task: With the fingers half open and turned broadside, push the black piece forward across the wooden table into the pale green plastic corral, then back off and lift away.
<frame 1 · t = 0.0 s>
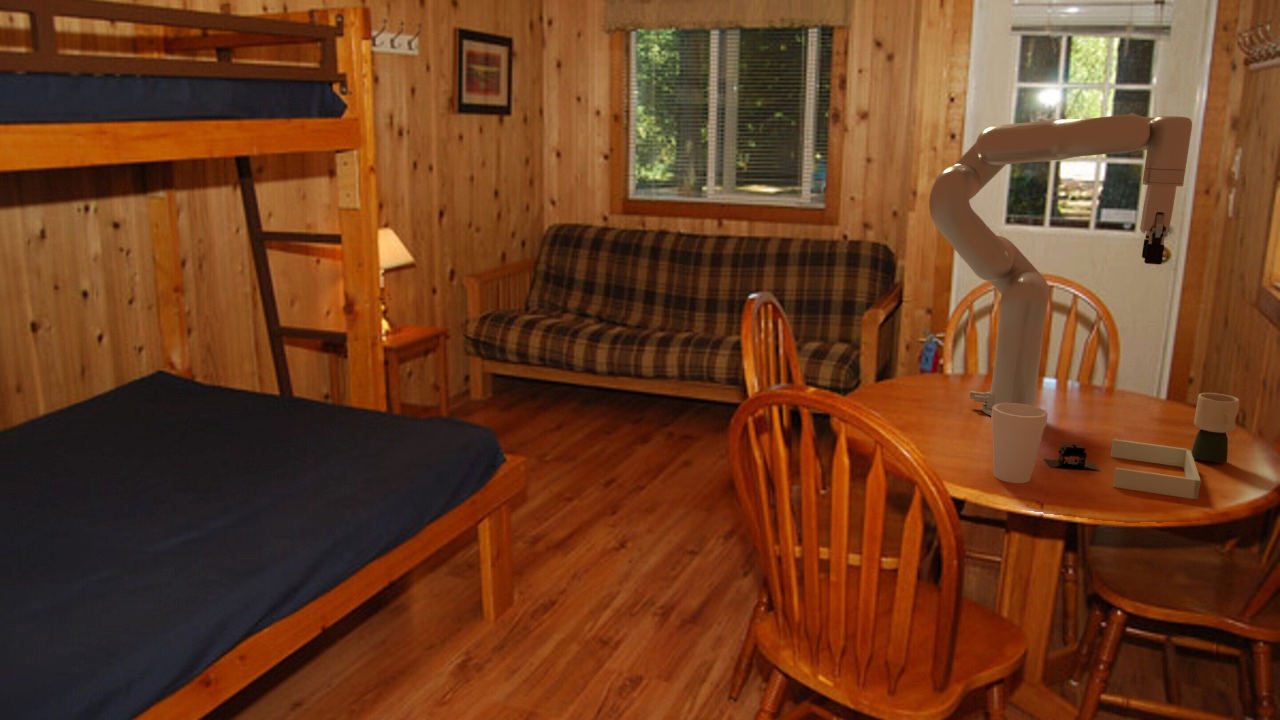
hand: (1151, 261, 208), 37 cm above the table, tool pointing down, fingers open, 9 cm apart
corral: (1151, 476, 187), on the table
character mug: (1208, 461, 197), on the table
black piece: (1070, 468, 192), on the table
foam cup: (1011, 478, 184), on the table
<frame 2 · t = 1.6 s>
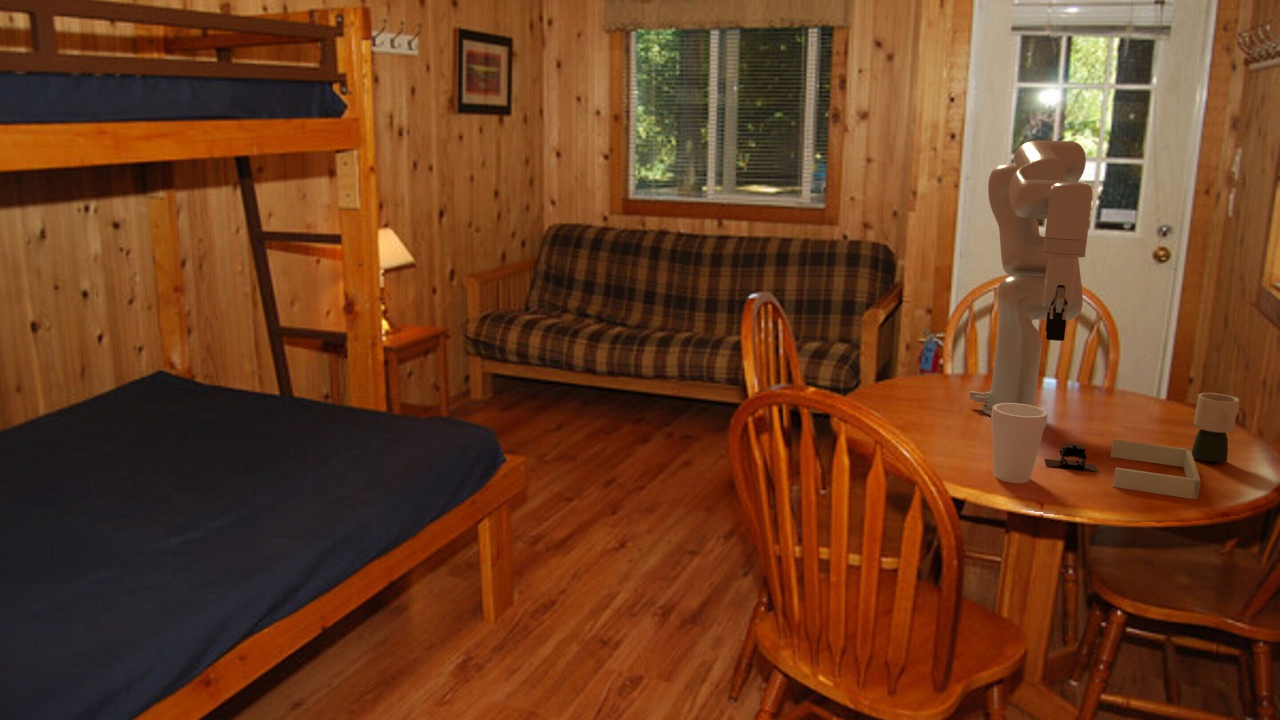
hand: (1054, 336, 193), 24 cm above the table, tool pointing down, fingers open, 9 cm apart
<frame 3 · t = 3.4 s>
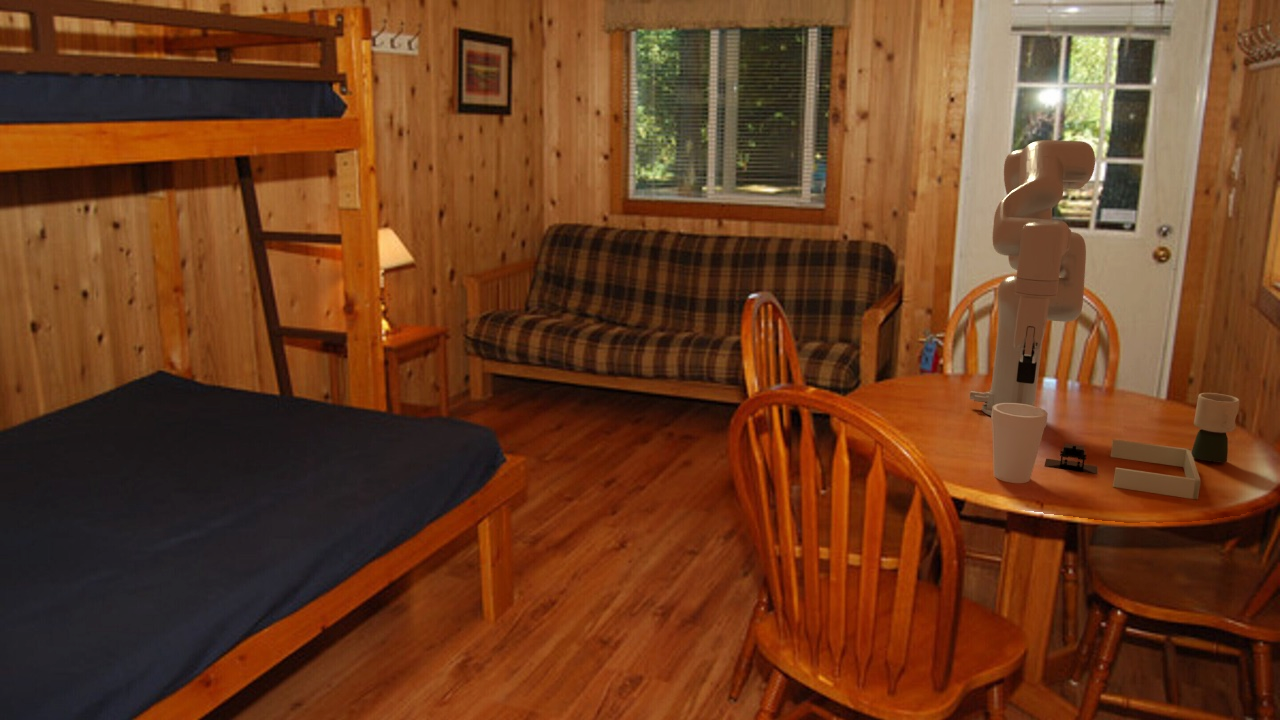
hand: (1025, 382, 192), 15 cm above the table, tool pointing down, fingers closed
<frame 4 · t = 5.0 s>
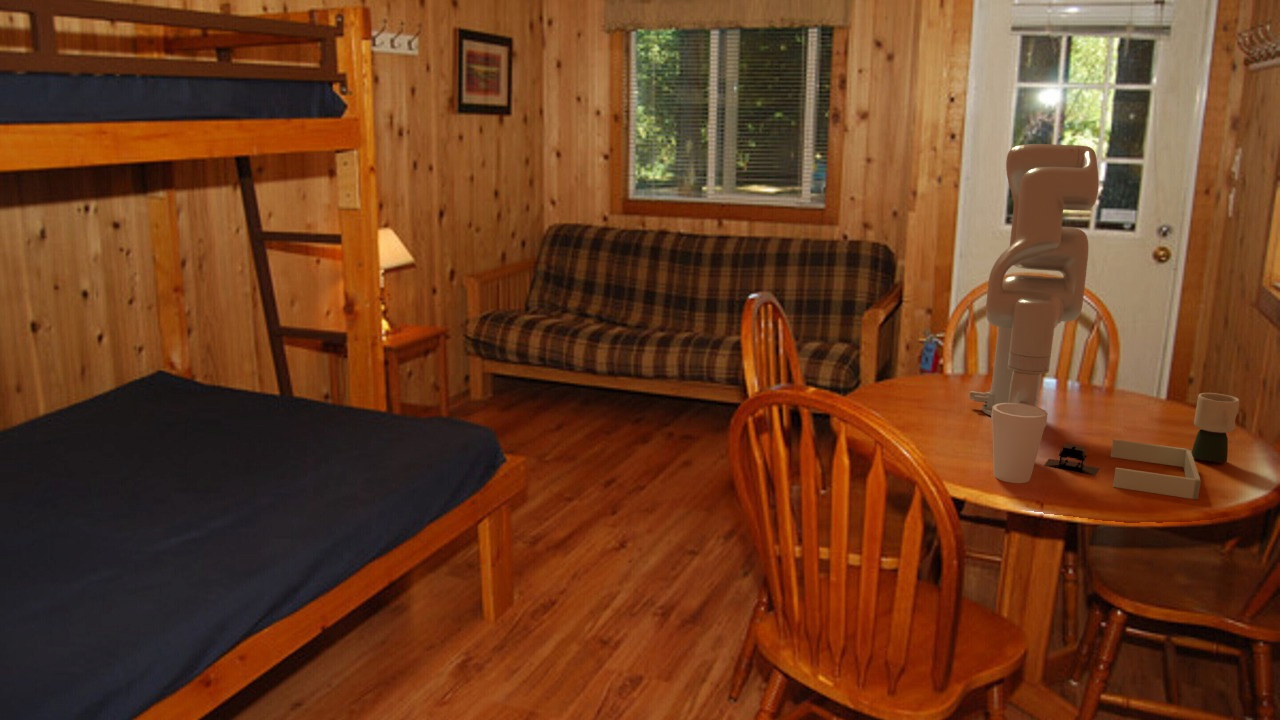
hand: (1018, 452, 196), 1 cm above the table, tool pointing down, fingers closed
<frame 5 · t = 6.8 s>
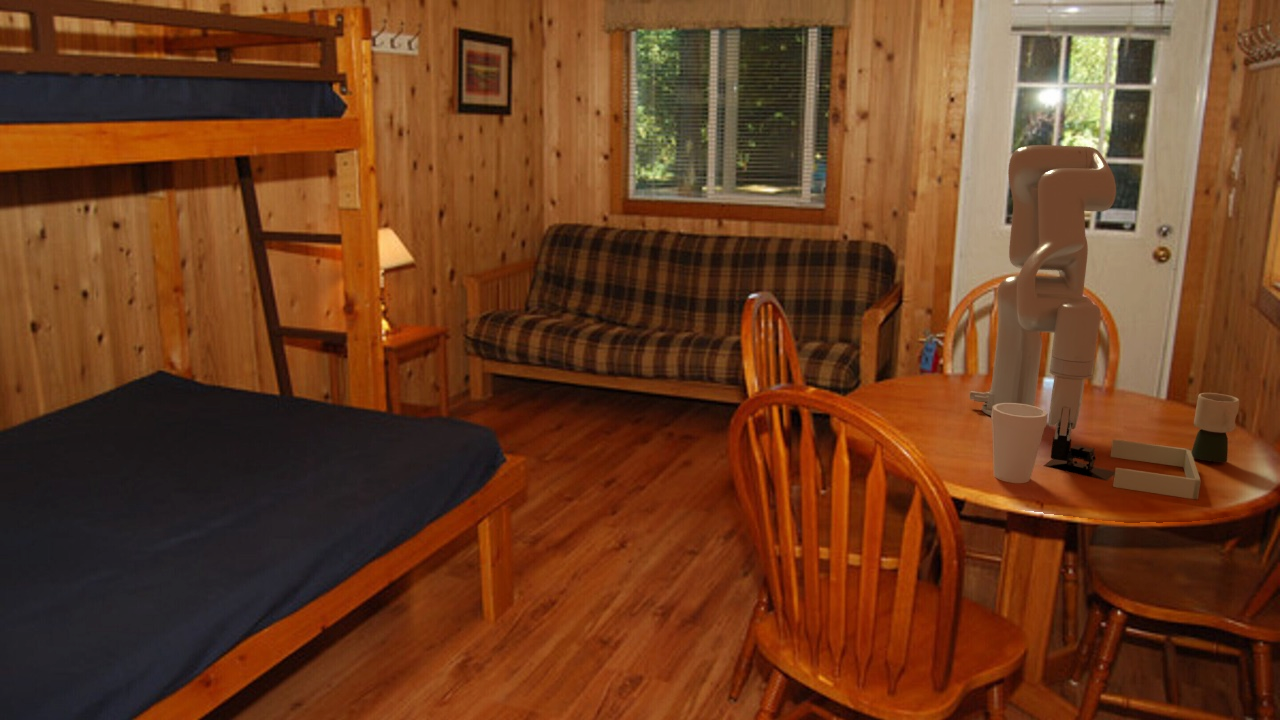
hand: (1059, 458, 193), 1 cm above the table, tool pointing down, fingers closed
black piece: (1079, 471, 190), on the table
everything else where it was.
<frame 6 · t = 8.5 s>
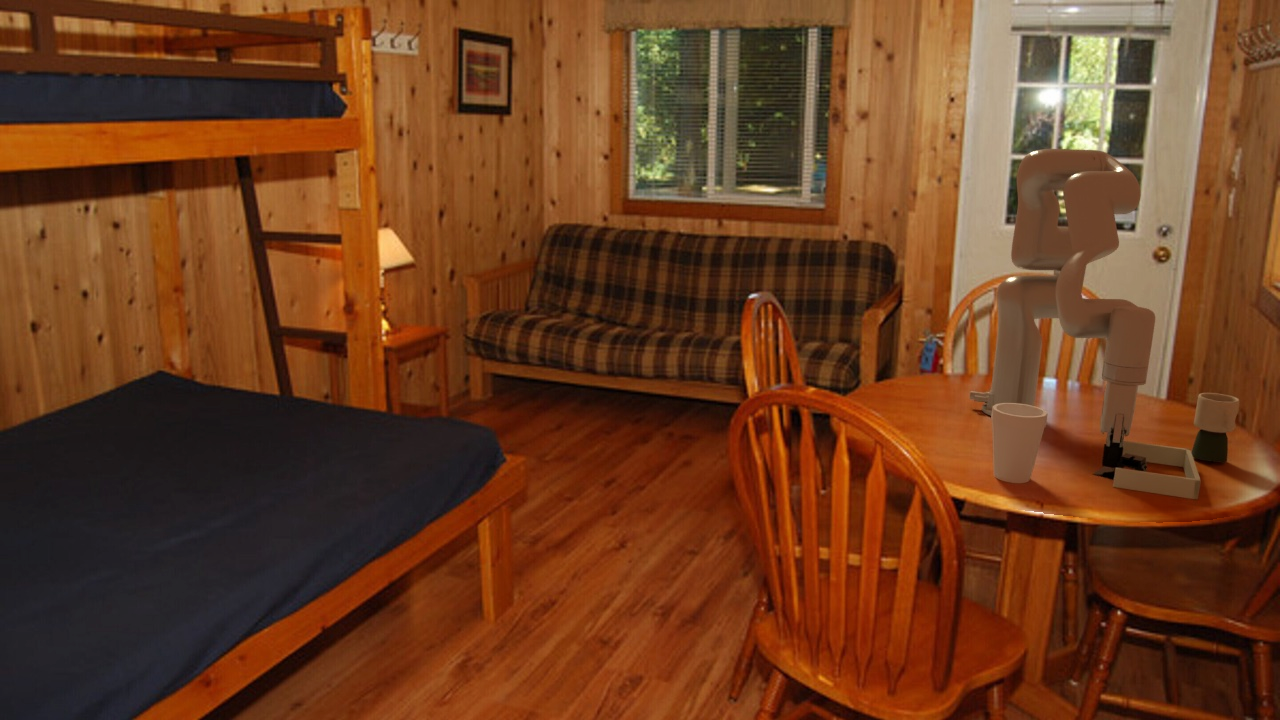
hand: (1111, 465, 189), 1 cm above the table, tool pointing down, fingers closed
black piece: (1129, 481, 186), on the table
everything else where it was.
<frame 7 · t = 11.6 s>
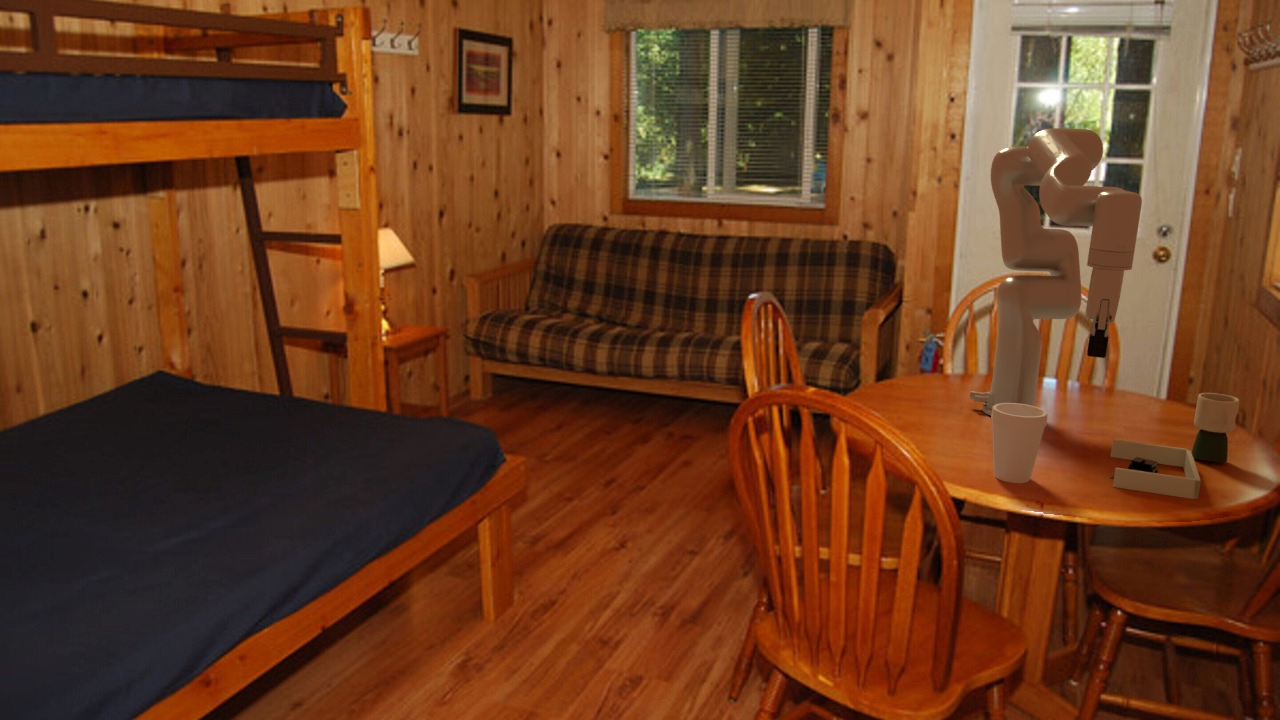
hand: (1096, 355, 187), 22 cm above the table, tool pointing down, fingers closed
black piece: (1140, 485, 184), on the table
everything else where it was.
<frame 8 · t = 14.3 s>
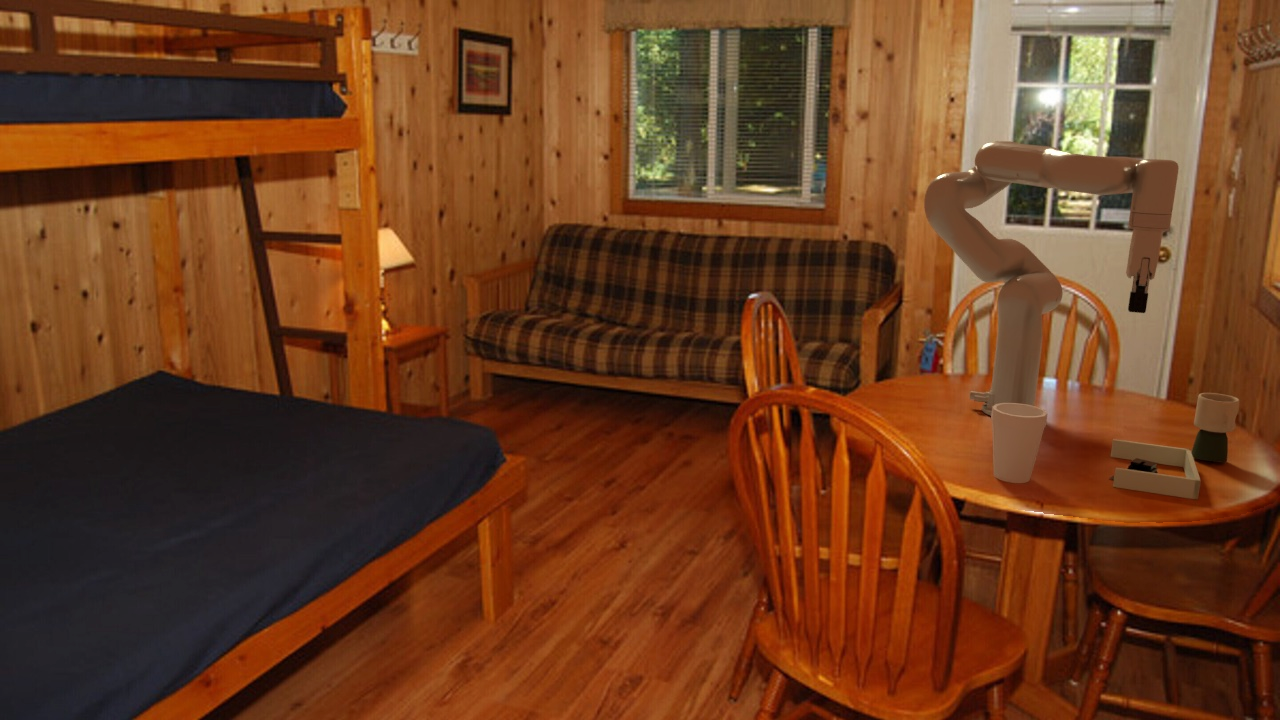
hand: (1136, 311, 204), 27 cm above the table, tool pointing down, fingers closed
nothing on the table moved.
at the end: black piece inside the target area on the corral (5.3 cm from its centre), point -0.8 cm above the corral's base; black piece moved 12.9 cm from its start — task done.
